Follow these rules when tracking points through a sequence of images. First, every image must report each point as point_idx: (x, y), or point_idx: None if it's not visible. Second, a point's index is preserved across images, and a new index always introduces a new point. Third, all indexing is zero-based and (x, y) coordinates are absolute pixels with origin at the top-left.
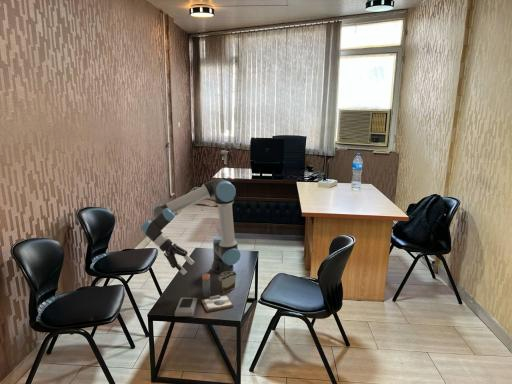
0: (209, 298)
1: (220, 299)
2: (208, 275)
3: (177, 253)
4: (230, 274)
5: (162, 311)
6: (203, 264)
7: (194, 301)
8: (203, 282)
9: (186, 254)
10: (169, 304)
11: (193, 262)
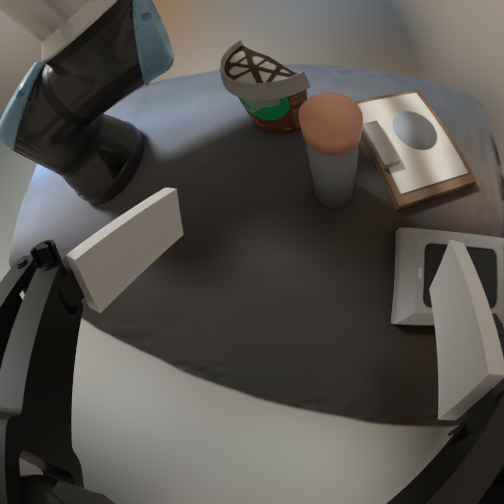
0: (385, 168)
1: (389, 125)
2: (337, 100)
3: (62, 421)
4: (249, 56)
5: None
6: (64, 241)
7: (444, 235)
8: (353, 159)
9: (63, 263)
10: (409, 376)
11: (173, 196)
